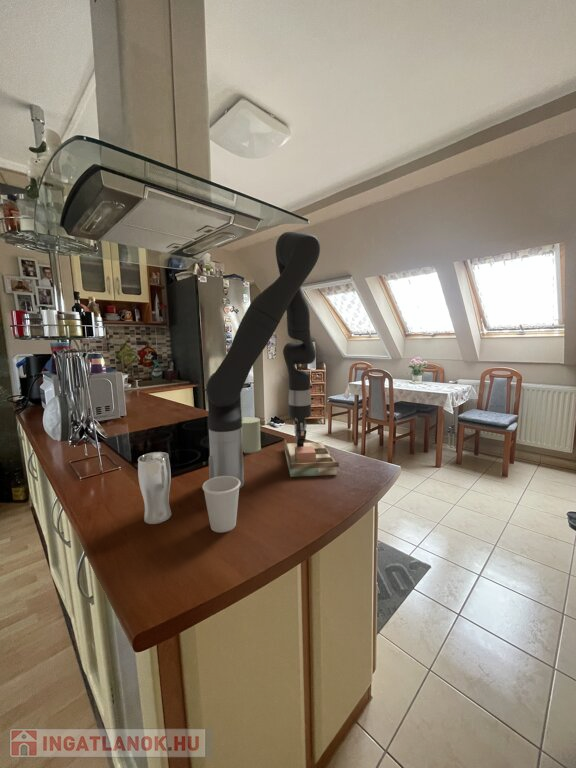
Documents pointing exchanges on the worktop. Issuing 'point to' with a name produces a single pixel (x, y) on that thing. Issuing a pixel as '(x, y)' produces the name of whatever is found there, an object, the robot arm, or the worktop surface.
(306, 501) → the worktop surface
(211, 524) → the dixie cup
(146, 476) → the beer glass
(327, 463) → the board
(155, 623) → the worktop surface
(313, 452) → the salmon pink square block
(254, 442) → the can
